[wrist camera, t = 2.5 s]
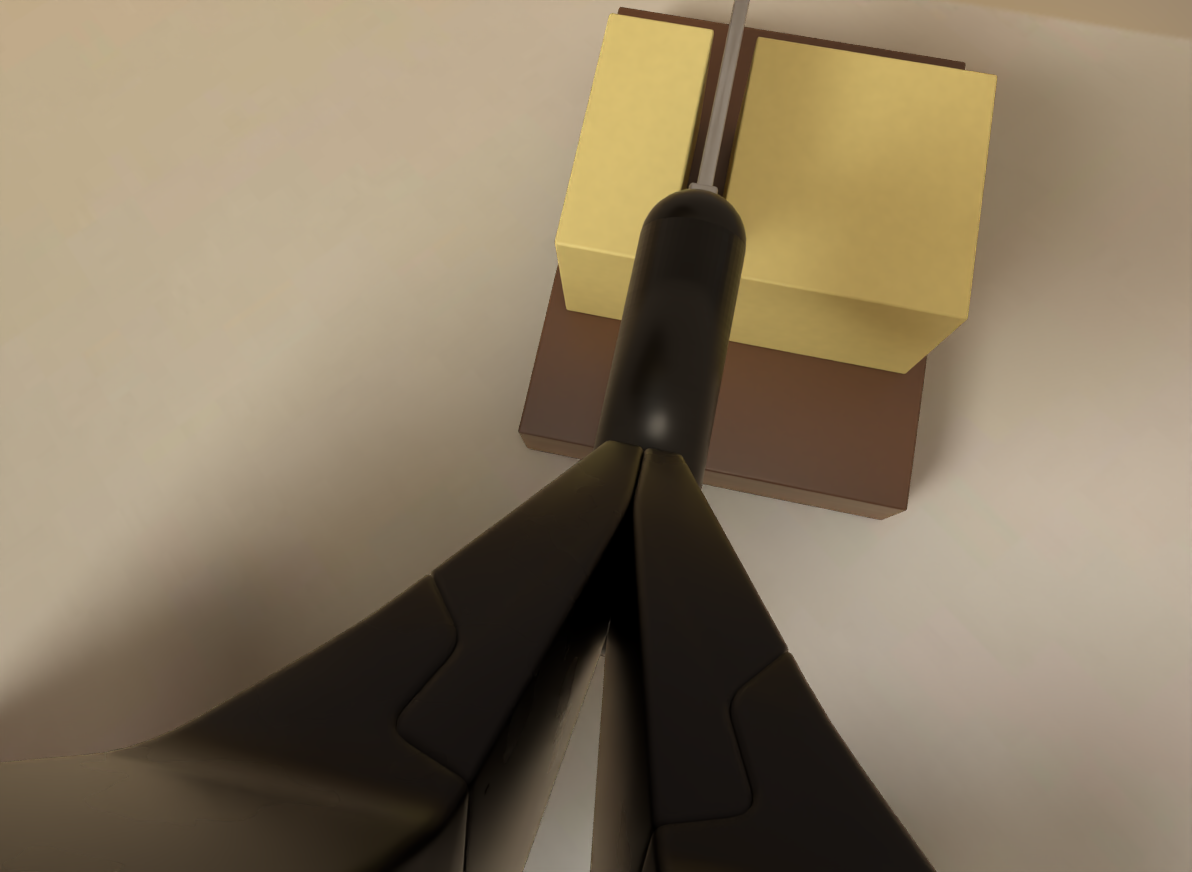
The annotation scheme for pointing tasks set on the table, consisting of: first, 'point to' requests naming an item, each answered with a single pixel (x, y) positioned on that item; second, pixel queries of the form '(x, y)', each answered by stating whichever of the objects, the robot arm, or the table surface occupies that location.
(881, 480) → the board
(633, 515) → the robot arm
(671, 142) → the butter
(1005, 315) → the table surface
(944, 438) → the table surface
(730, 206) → the knife
